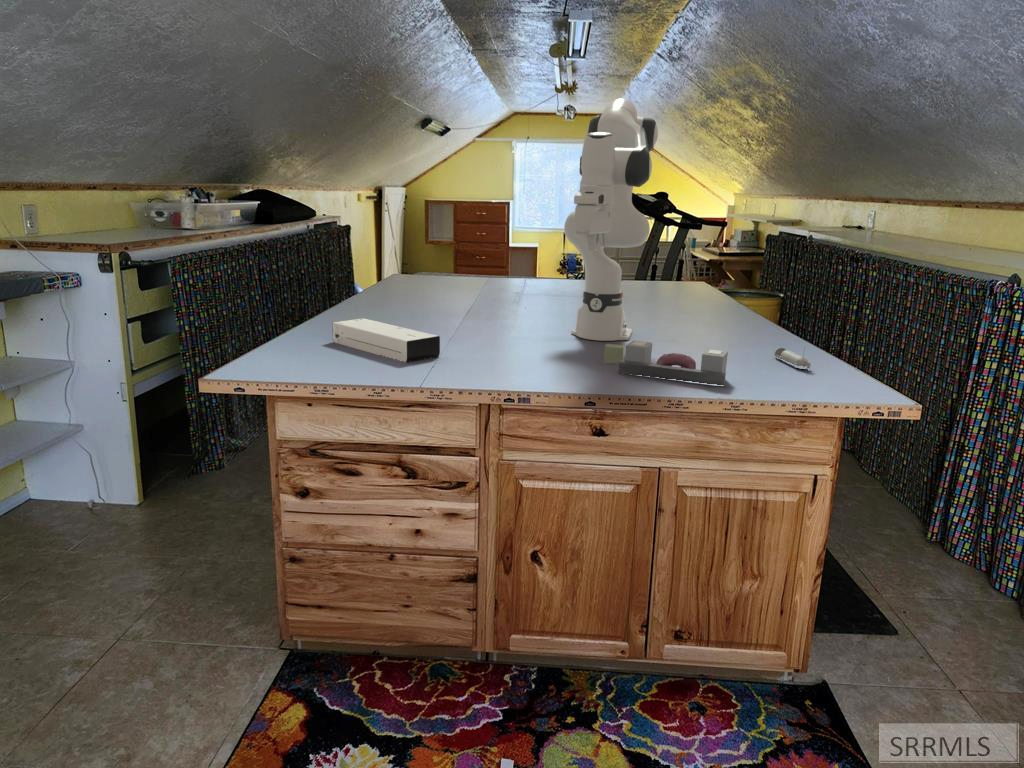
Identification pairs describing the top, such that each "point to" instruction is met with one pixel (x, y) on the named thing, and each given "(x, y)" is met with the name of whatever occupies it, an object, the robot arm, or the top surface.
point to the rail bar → (671, 372)
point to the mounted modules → (710, 361)
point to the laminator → (386, 339)
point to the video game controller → (677, 360)
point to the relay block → (613, 353)
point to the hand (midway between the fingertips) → (593, 250)
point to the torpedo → (792, 357)
